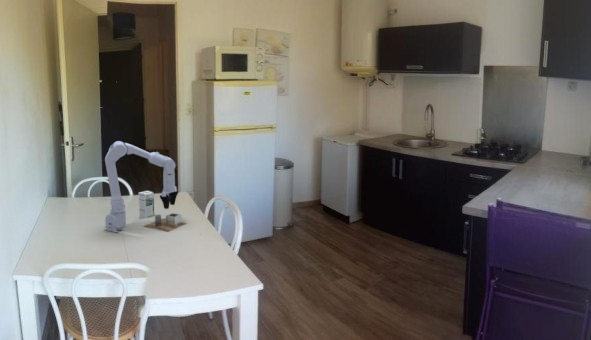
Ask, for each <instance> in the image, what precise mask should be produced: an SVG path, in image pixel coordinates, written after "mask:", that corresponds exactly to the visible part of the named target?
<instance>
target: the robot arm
mask: <svg viewBox="0 0 591 340" xmlns="http://www.w3.org/2000/svg"><path fill="white" fill-rule="evenodd" d="M132 154H134V155H136V156H140V157H141V158H145V159H147V160H148V162H149V163H150V164H153V165H155V166H158V167H160V168H163V177H162V178H163V180H162V183H163V184H162V185H163V189H162V192H161V194H160V195H159V198H160V200H161V202H162V205H163V208H164V210H165V209H166V210H169V208H170V205H171V206H175V203H176V199H177V197H178V195H179V191H178V187H177V186H176V178H175V177H176V174H175V169H176V166H177V165H176V162H175V161H174V160H173V159H172V158H171V157H170V156H169V157H168V156H167V155H163V154H160V152H158V151H156V152H155V151H153V152H148V151H147V150H144V149H142V148H139V147H138V146H135V145H134V144H130V143H128V142H123V141H121V140H117V141H115V142H113V143H112V144H111V145H110V147H109V148H108V152H107V153H106V155H105V158H104V162H105V167H106V168H105V169H106V174H107V178H108V179H107V180H108V185H109V191H110V195H111V199H110V207H111V208H110V211H109V213H108V214H107V215H105V220H104V221H105V228H104V231H108V232H111V233H112V232H113V233H119V232H121V231H123V229H122V228H124V227H126V226H127V223H126V222H127V219H126V213H127V212H126V209H125V208H126V205H125V202H124V199H123V198H122V194H121V188H120V183H119V178H118V172H117V171H118V170H117V167H116V162H117V161H118V160H119V159H120V158H122V157H123V156H125V155H132Z"/></svg>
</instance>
